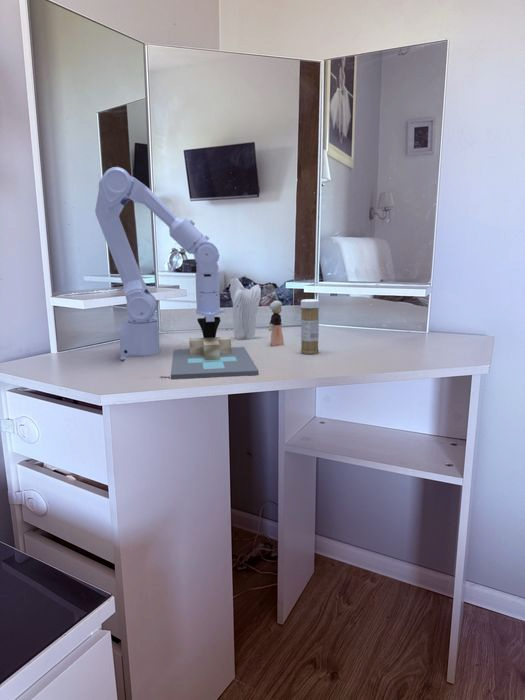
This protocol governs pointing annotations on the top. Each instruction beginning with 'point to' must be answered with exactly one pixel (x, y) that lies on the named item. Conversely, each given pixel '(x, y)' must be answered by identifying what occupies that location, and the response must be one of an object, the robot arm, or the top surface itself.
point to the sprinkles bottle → (309, 326)
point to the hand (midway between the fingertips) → (209, 346)
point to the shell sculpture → (244, 309)
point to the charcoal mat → (212, 365)
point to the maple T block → (210, 347)
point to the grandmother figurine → (276, 324)
